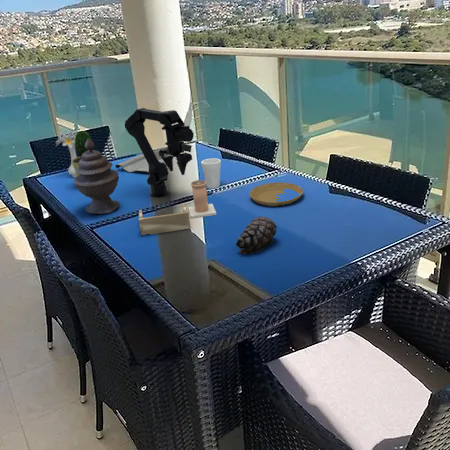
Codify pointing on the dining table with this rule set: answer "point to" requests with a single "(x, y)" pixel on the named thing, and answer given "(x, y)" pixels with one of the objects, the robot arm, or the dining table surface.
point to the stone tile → (195, 214)
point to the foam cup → (211, 172)
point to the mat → (136, 164)
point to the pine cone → (257, 235)
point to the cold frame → (164, 222)
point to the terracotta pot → (200, 195)
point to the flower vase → (70, 142)
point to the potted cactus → (80, 147)
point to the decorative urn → (96, 180)
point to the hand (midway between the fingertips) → (177, 173)
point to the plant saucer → (273, 193)
